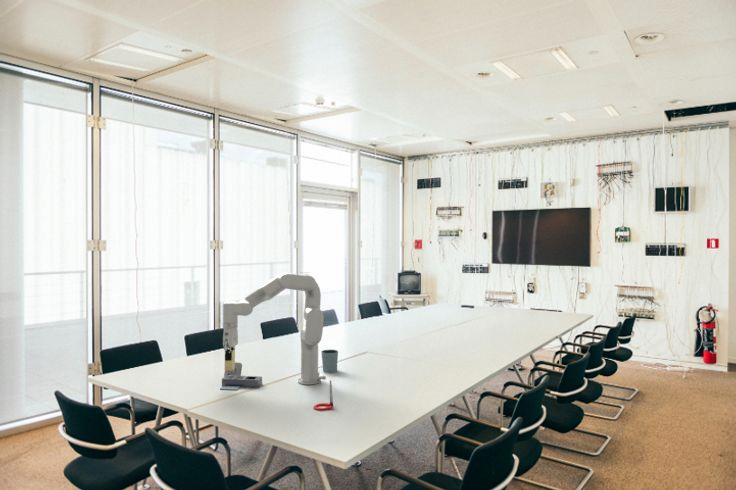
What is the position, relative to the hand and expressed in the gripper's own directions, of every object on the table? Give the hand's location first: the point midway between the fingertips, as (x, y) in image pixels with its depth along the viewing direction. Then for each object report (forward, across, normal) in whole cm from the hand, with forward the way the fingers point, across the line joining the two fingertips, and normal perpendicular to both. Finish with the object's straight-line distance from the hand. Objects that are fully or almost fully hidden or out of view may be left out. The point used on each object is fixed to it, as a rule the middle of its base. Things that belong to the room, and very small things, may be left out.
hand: (229, 359), depth 261 cm
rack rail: (+16, +7, -4) cm, 18 cm away
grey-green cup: (+15, +42, -46) cm, 64 cm away
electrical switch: (+16, +20, +6) cm, 26 cm away
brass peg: (+5, 0, 0) cm, 5 cm away
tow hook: (+16, -23, -55) cm, 62 cm away
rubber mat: (+16, 0, 0) cm, 16 cm away
